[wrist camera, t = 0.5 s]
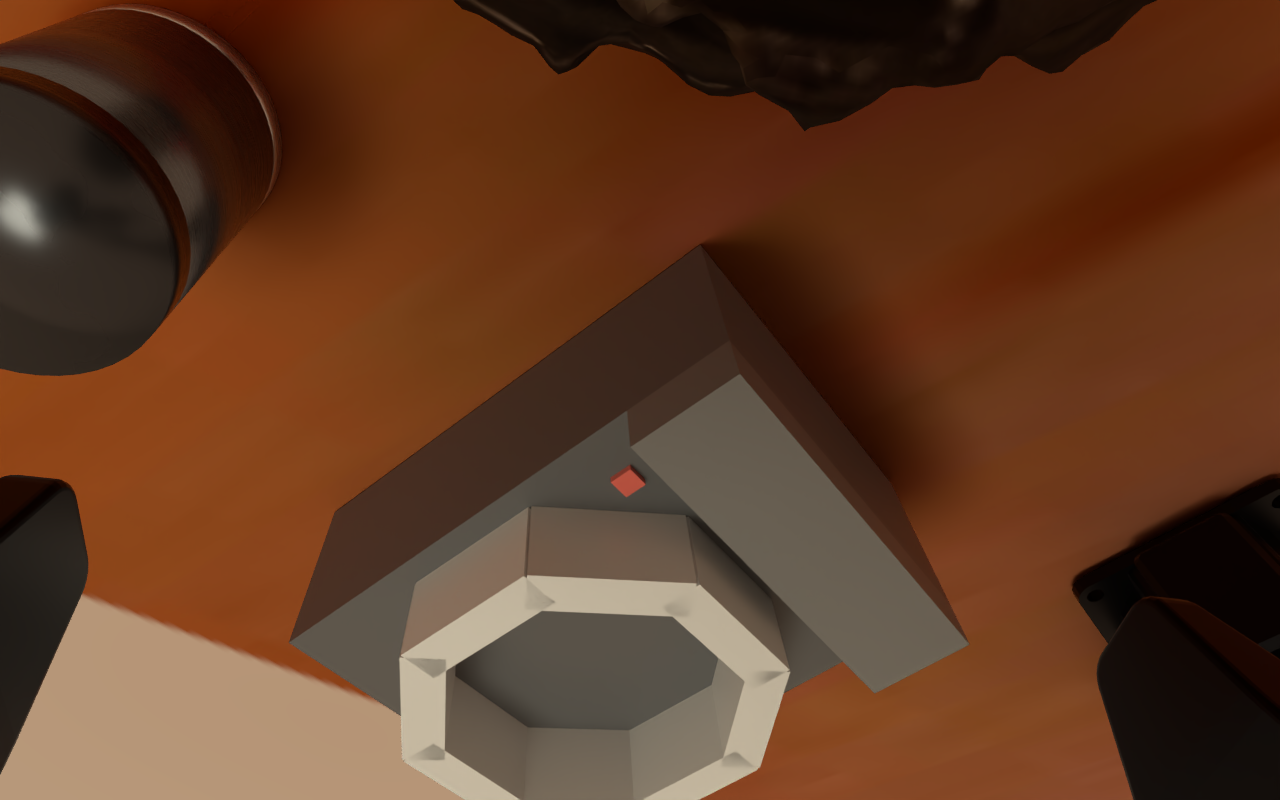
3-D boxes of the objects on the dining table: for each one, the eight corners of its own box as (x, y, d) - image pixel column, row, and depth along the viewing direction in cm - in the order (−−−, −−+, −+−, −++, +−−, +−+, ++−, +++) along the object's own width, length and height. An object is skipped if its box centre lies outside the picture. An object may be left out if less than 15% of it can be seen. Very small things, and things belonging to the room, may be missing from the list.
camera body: (891, 483, 24) (983, 673, 19) (556, 681, 28) (551, 890, 22) (700, 244, 20) (747, 398, 15) (334, 512, 23) (262, 717, 18)
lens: (329, 143, 18) (236, 261, 13) (187, 272, 20) (53, 424, 15) (136, -52, 16) (-62, 0, 11) (-9, 107, 18) (-243, 219, 13)
